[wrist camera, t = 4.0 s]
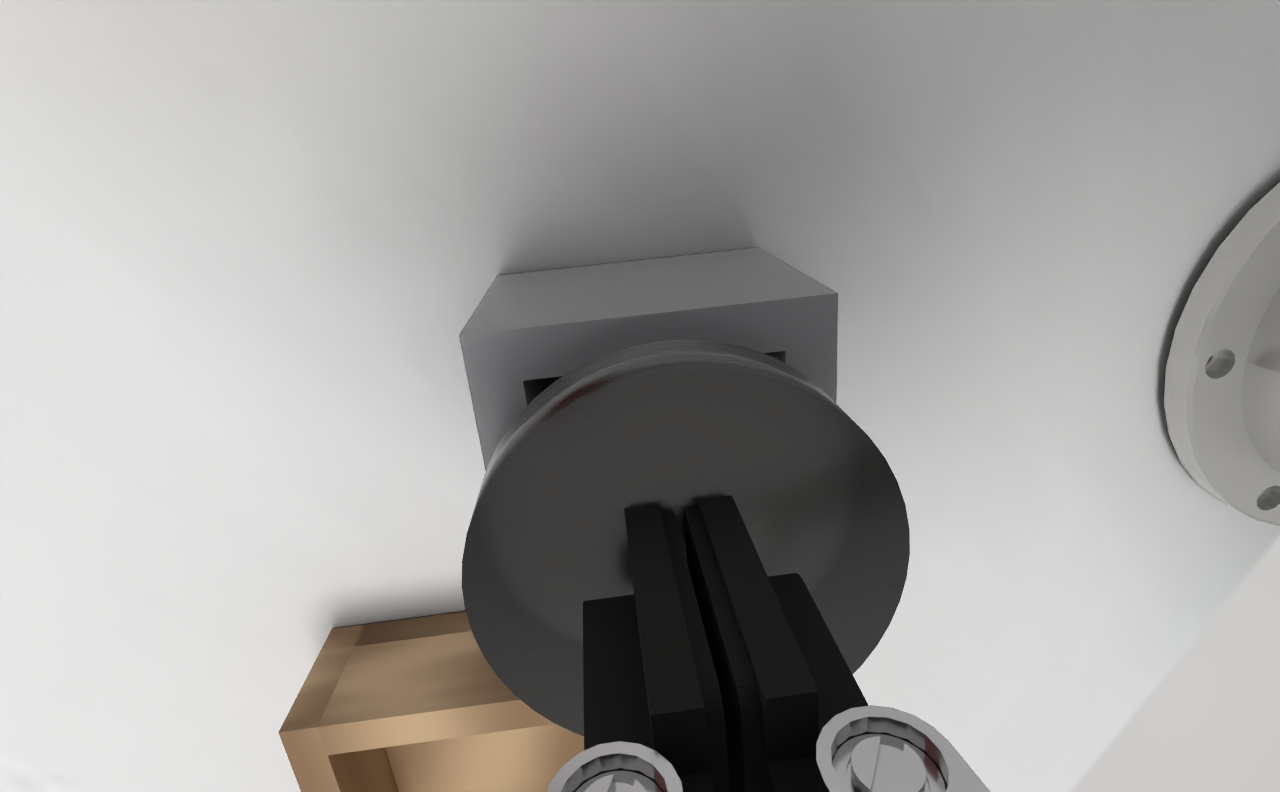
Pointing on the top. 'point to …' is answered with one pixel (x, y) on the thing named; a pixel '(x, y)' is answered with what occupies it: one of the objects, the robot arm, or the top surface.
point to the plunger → (673, 502)
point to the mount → (639, 322)
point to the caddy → (417, 716)
